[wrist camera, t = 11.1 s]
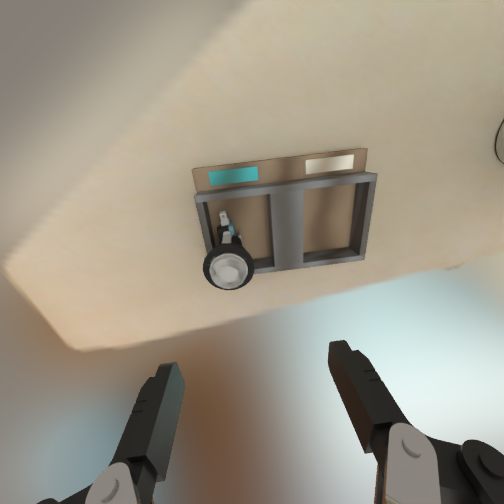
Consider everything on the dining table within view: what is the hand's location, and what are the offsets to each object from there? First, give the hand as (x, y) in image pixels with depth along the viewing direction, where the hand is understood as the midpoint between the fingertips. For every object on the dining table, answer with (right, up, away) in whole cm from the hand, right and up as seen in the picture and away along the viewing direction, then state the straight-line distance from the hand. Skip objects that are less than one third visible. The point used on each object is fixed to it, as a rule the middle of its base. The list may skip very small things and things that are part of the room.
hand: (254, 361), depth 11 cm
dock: (+4, +11, +19) cm, 23 cm away
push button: (-3, +9, +19) cm, 21 cm away
